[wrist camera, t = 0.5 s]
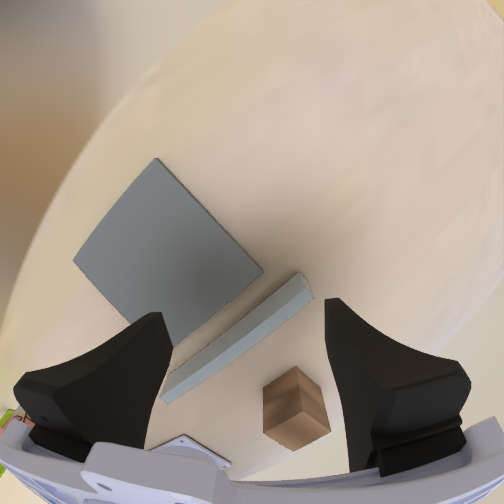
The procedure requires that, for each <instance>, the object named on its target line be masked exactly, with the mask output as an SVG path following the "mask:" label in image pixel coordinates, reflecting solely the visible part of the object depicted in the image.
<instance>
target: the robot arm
mask: <svg viewBox="0 0 504 504" xmlns="http://www.w3.org/2000/svg"><path fill="white" fill-rule="evenodd" d="M325 342H326V348H327V354H328V359H329V362H330V365H331V369H332V372H333V375H334V379H335V382H336V385H337V389H338V392H339V395H340V400H341V404H342V410H343V416H344V423H345V430H346V438H347V447H348V457H349V470H350V473H346V474H340V475H334V476H326V477H318V478H308V479H298V480H282V481H230V480H229V478H228V476H227V475H226V474H225V473H224V472H223V471H222V470H224V469H227V468H229V467H231V463H230V462H228V461H226V460H225V459H223V458H221V457H219V456H218V455H216V454H214V453H213V452H211V451H209V450H208V449H206V448H204V447H203V446H201V445H200V444H198V443H196V442H195V441H193V440H192V439H190V438H189V437H187V436H184V435H183V436H180V437H178V438H176V439H174V440H172V441H170V442H168V443H166V444H164V445H161V446H159V447H157V448H155V449H153V450H150V451H149V450H144V444H145V438H146V433H147V428H148V423H149V419H150V415H151V411H152V407H153V404H154V402H155V399H156V396H157V394H158V392H159V389H160V387H161V384H162V382H163V379H164V377H165V374H166V372H167V369H168V367H169V363H170V360H171V355H172V351H173V344H172V342H171V339H170V336H169V333H168V330H167V327H166V324H165V321H164V318H163V315H162V312H149V313H147V314H146V315H144V316H143V317H141V318H140V319H138V320H137V321H135V322H134V323H132V324H131V325H130V326H128V327H127V328H125V329H124V330H123V331H121V332H120V333H118V334H117V335H115V336H114V337H112V338H111V339H109V340H108V341H106V342H105V343H103V344H102V345H100V346H98V347H97V348H95V349H93V350H91V351H89V352H87V353H85V354H83V355H81V356H79V357H76V358H74V359H72V360H69V361H67V362H64V363H61V364H59V365H55V366H52V367H49V368H45V369H40V370H36V371H31V372H26V373H25V374H24V375H23V376H22V377H21V379H20V380H19V381H18V382H17V383H16V385H15V386H14V388H13V391H14V395H15V398H16V400H17V401H18V403H19V404H20V406H21V407H22V408H23V410H24V411H25V412H26V413H27V415H28V416H29V417H30V418H31V420H32V421H33V422H34V423H35V425H34V427H33V428H31V427H30V426H29V425H27V424H25V423H23V422H21V421H19V420H16V419H12V421H11V422H10V424H9V425H8V427H7V428H6V430H5V431H4V433H3V434H2V436H1V437H0V463H1V464H2V465H3V466H4V467H5V468H6V469H7V470H8V471H9V472H11V473H12V474H13V475H14V476H15V477H16V478H18V479H19V480H20V481H21V482H22V483H23V484H25V485H26V486H28V487H30V488H31V489H33V490H35V491H36V492H38V493H40V494H41V495H43V496H45V497H46V498H48V499H50V500H52V501H53V502H55V503H57V504H473V503H475V502H477V501H479V500H480V499H482V498H484V497H485V496H487V495H488V494H489V493H491V492H492V491H493V490H494V489H495V488H497V487H498V486H499V485H500V484H501V483H502V482H503V481H504V432H503V430H502V429H501V427H500V425H499V423H498V422H497V419H496V418H495V416H492V417H490V418H488V419H486V420H484V421H481V422H479V423H477V424H475V425H473V426H471V427H469V428H468V429H466V430H465V431H464V432H462V430H461V427H460V425H461V424H462V419H461V417H460V415H459V413H460V411H461V409H462V407H463V405H464V404H465V402H466V400H467V397H468V395H469V392H470V390H471V381H470V379H469V377H468V376H467V374H466V372H465V371H464V369H463V368H462V366H461V365H460V364H459V362H458V361H455V360H450V359H445V358H441V357H436V356H433V355H430V354H426V353H423V352H420V351H418V350H415V349H412V348H410V347H408V346H405V345H403V344H401V343H399V342H397V341H395V340H393V339H391V338H390V337H388V336H386V335H384V334H383V333H381V332H380V331H378V330H377V329H375V328H374V327H373V326H371V325H370V324H368V323H367V322H366V321H364V320H363V319H362V318H361V317H360V316H358V315H357V314H356V313H355V312H354V311H353V310H352V309H351V308H349V307H348V306H347V305H346V304H345V303H344V302H343V301H342V300H341V299H340V298H331V299H325Z"/></svg>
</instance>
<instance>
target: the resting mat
mask: <svg viewBox="0 0 504 504" xmlns="http://www.w3.org/2000/svg"><path fill="white" fill-rule="evenodd" d="M73 261H74V263H75V264H76V265H77V266H78V267H79V269H80V270H81V271H82V272H83V273H84V274H85V276H86V277H87V278H88V279H89V280H90V281H91V282H92V284H93V285H94V286H95V287H96V288H97V289H98V290H99V291H100V292H101V294H102V295H103V296H104V297H105V298H106V299H107V300H108V301H109V302H110V303H111V304H112V305H113V306H114V307H115V308H116V309H117V310H118V311H119V313H120V314H121V315H122V316H123V317H124V318H125V319H126V320H127V321H128V322H129V323H130V324H132V323H134V322H135V321H137V320H138V319H140V318H141V317H143V316H144V315H146V314H147V313H149V312H162V315H163V318H164V321H165V324H166V327H167V330H168V333H169V336H170V339H171V342H172V344H173V347H175V346H176V345H177V344H178V343H179V342H181V341H182V340H183V339H184V338H186V337H187V336H188V335H189V334H190V333H192V332H193V331H194V330H195V329H197V328H198V327H199V326H200V325H201V324H203V323H204V322H205V321H206V320H207V319H209V318H210V317H211V316H212V315H213V314H215V313H216V312H217V311H218V310H219V309H221V308H222V307H223V306H224V305H225V304H227V303H228V302H229V301H230V300H231V299H233V298H234V297H235V296H236V295H237V294H238V293H240V292H241V291H242V290H243V289H244V288H246V287H247V286H248V285H249V284H250V283H251V282H253V281H254V280H255V279H256V278H257V277H259V276H260V275H261V274H262V273H263V269H262V268H261V267H260V266H259V265H258V264H257V263H256V262H255V261H254V260H253V259H252V258H251V257H250V256H249V255H248V254H247V253H246V251H245V250H244V249H243V248H242V247H241V246H240V245H239V244H238V243H237V242H236V241H235V240H234V239H233V238H232V237H231V236H230V235H229V233H228V232H227V231H226V230H225V229H224V228H223V227H222V226H221V225H220V224H219V223H218V222H217V221H216V220H215V219H214V218H213V217H212V215H211V214H210V213H209V212H208V211H207V210H206V209H205V208H204V207H203V206H202V205H201V204H200V203H199V202H198V201H197V200H196V198H195V197H194V196H193V195H192V194H191V193H190V192H189V191H188V190H187V189H186V188H185V187H184V186H183V185H182V184H181V183H180V181H179V180H178V179H177V178H176V177H175V176H174V175H173V174H172V173H171V172H170V171H169V170H168V169H167V168H166V167H165V166H164V164H163V163H162V162H161V161H160V160H159V159H158V158H154V160H153V161H152V162H151V163H150V164H149V165H148V166H147V167H146V168H145V169H144V170H143V172H142V173H141V174H140V175H139V176H138V177H137V178H136V179H135V181H134V182H133V183H132V184H131V185H130V186H129V187H128V189H127V190H126V191H125V192H124V193H123V195H122V196H121V197H120V198H119V199H118V201H117V202H116V203H115V204H114V205H113V207H112V208H111V209H110V210H109V212H108V213H107V214H106V215H105V217H104V218H103V219H102V221H101V222H100V223H99V224H98V226H97V227H96V228H95V230H94V231H93V232H92V234H91V235H90V236H89V238H88V239H87V241H86V242H85V243H84V245H83V246H82V247H81V249H80V250H79V252H78V253H77V255H76V256H75V257H74V259H73Z"/></svg>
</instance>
